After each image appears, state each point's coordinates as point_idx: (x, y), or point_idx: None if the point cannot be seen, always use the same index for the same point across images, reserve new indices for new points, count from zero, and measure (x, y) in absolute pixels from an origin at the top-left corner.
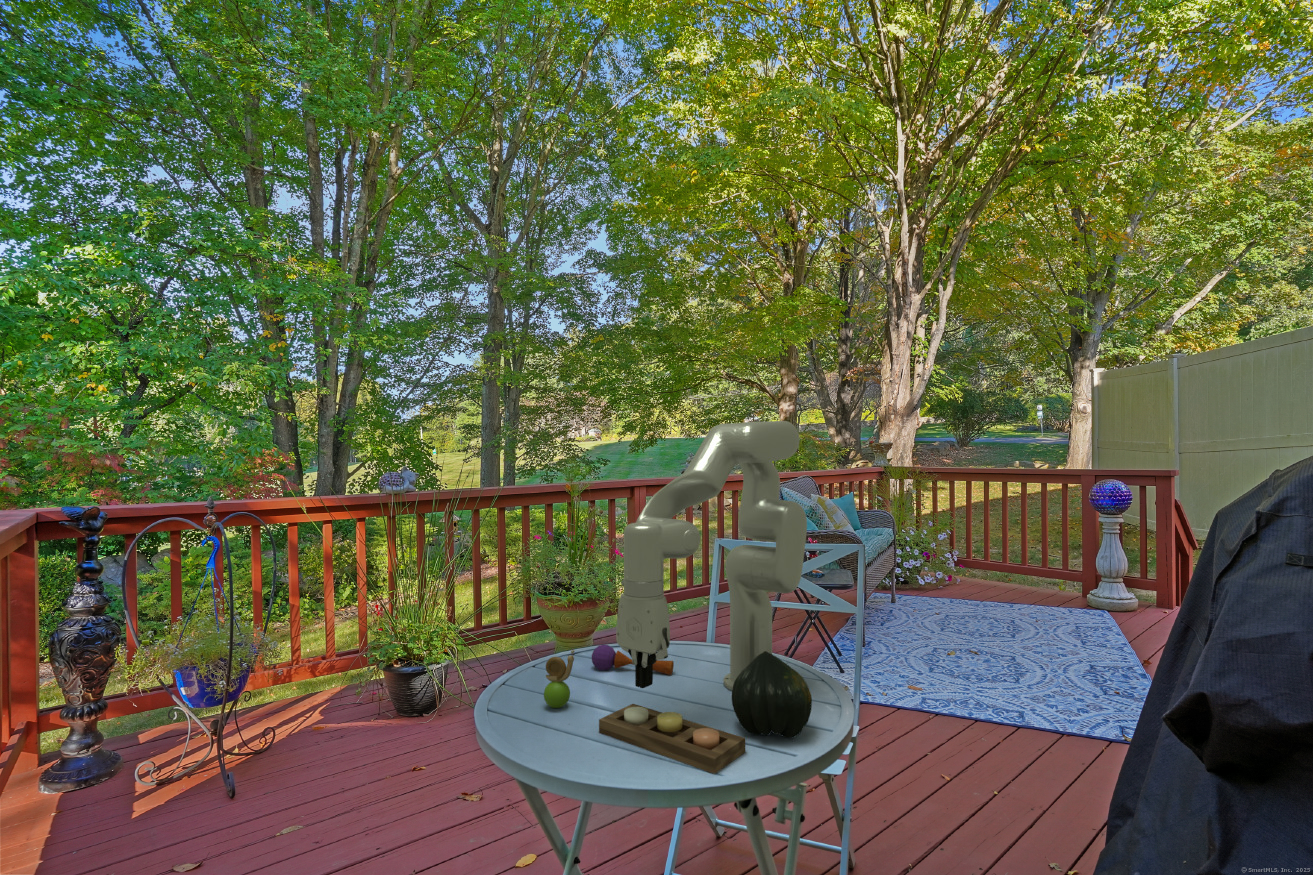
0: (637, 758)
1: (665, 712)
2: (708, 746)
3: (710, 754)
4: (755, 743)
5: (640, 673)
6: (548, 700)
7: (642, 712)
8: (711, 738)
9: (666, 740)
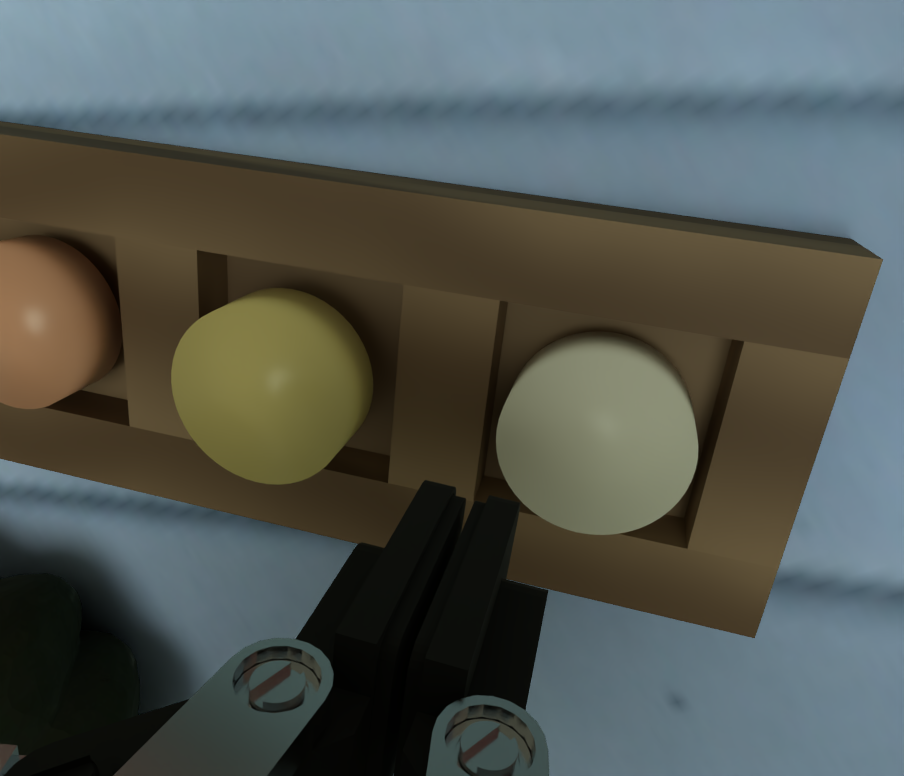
0: (368, 24)
1: (326, 454)
2: None
3: None
4: (11, 511)
5: (394, 578)
6: None
7: (537, 450)
8: None
9: (202, 187)
